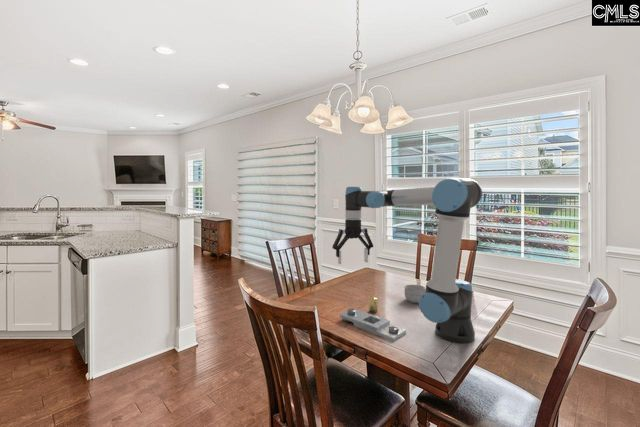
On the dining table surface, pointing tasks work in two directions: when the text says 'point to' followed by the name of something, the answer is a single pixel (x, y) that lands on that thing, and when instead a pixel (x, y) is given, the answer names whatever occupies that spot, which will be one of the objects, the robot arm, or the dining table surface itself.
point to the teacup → (414, 292)
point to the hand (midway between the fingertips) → (352, 262)
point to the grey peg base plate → (378, 326)
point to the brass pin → (373, 305)
